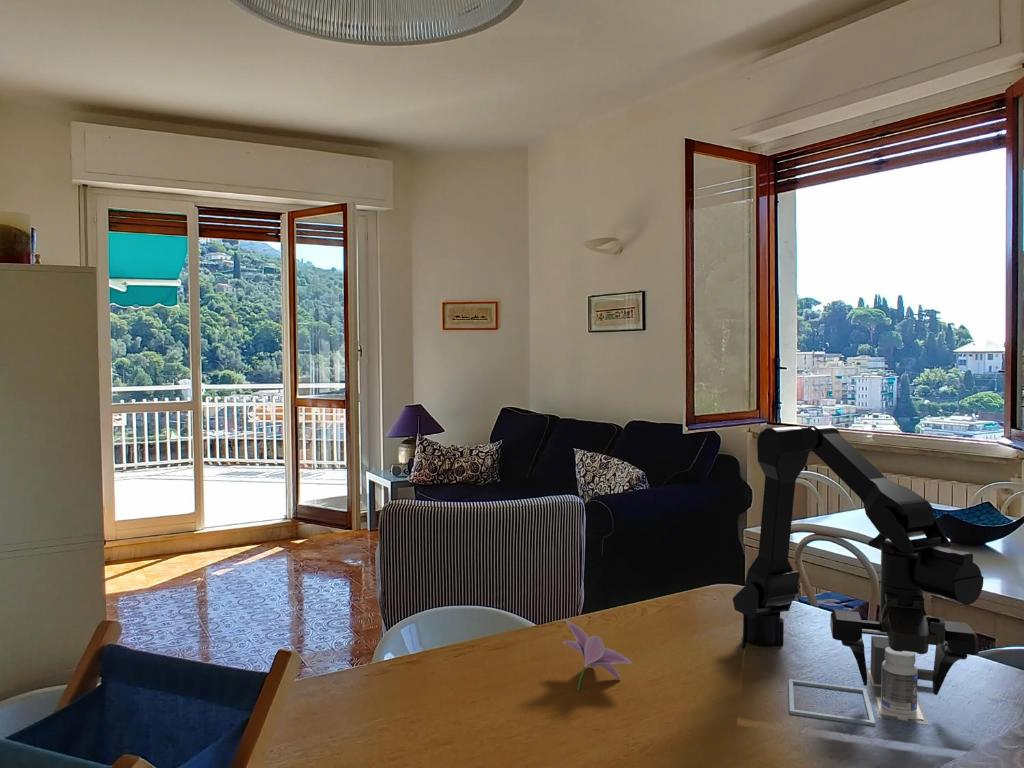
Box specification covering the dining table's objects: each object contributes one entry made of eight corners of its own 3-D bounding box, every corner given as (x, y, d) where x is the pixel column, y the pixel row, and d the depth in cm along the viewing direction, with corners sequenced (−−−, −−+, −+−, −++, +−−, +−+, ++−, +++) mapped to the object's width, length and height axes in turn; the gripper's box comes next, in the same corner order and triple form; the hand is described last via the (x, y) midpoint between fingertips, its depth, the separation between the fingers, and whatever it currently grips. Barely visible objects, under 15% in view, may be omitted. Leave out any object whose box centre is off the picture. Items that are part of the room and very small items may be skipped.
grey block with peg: (874, 684, 121) (875, 647, 121) (870, 672, 126) (871, 635, 126) (937, 692, 118) (938, 654, 118) (931, 679, 123) (932, 642, 123)
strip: (877, 723, 111) (877, 715, 111) (864, 672, 128) (864, 666, 128) (928, 730, 108) (929, 722, 108) (908, 677, 126) (908, 671, 125)
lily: (635, 705, 119) (647, 641, 122) (568, 684, 115) (582, 620, 119) (598, 698, 129) (610, 639, 133) (535, 679, 126) (549, 619, 130)
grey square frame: (789, 718, 112) (789, 710, 112) (788, 686, 123) (788, 678, 122) (875, 731, 108) (875, 722, 108) (866, 696, 119) (866, 689, 119)
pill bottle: (921, 716, 110) (922, 659, 110) (885, 713, 111) (886, 656, 111) (911, 701, 115) (912, 646, 115) (877, 698, 116) (878, 643, 116)
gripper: (836, 594, 108) (834, 704, 108) (990, 608, 102) (987, 725, 103) (831, 571, 118) (829, 672, 119) (970, 583, 112) (967, 689, 113)
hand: (899, 689), depth 113 cm, fingers open, 9 cm apart
